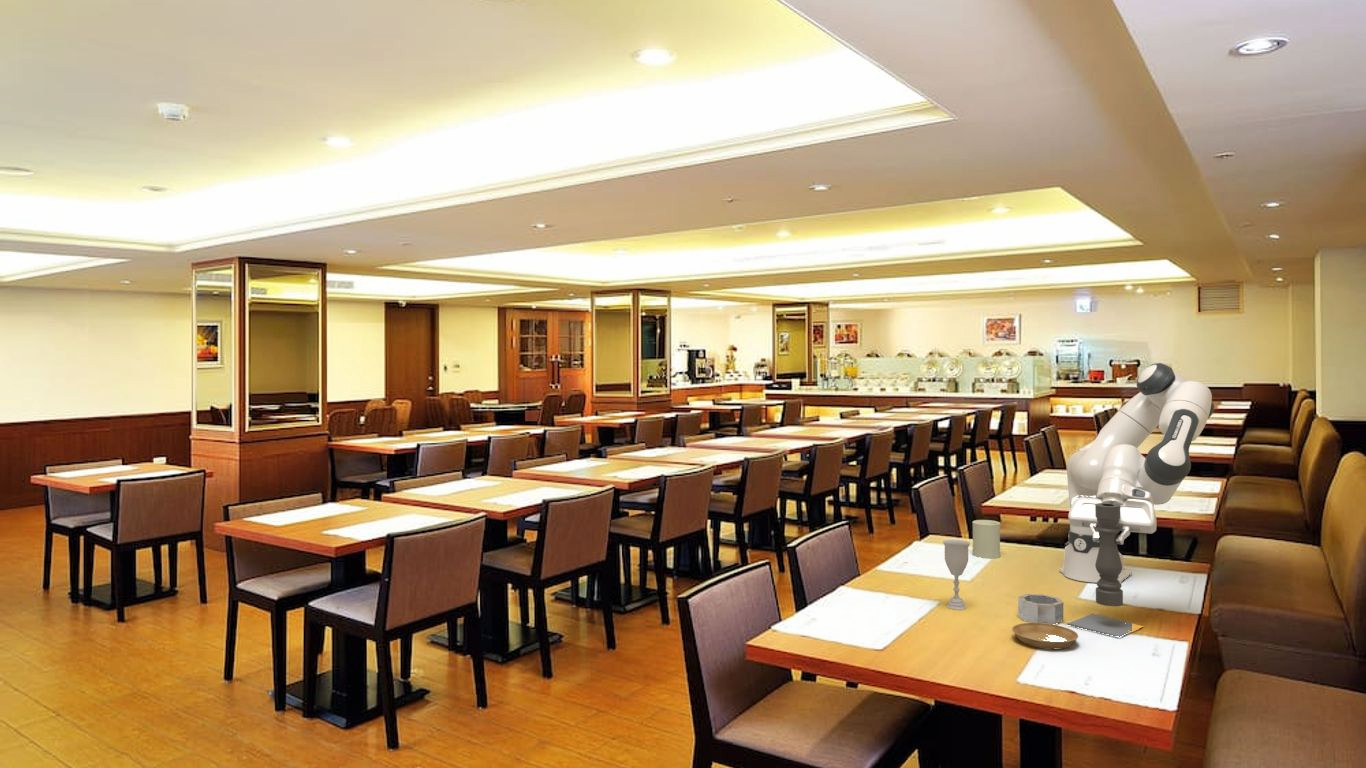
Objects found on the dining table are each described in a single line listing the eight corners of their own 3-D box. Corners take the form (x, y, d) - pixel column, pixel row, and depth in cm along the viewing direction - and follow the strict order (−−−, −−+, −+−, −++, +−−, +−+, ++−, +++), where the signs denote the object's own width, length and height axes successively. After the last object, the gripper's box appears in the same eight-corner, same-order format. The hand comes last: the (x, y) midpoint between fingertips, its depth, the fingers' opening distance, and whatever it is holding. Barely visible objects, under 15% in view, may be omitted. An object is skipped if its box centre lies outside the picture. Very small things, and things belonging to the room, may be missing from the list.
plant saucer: (998, 636, 209) (998, 626, 208) (1045, 629, 214) (1045, 619, 214) (1043, 656, 195) (1043, 645, 195) (1092, 648, 200) (1092, 637, 200)
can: (997, 559, 286) (997, 524, 286) (969, 556, 291) (969, 521, 291) (1003, 554, 294) (1003, 520, 293) (976, 551, 299) (976, 517, 298)
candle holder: (1091, 599, 217) (1089, 503, 216) (1114, 598, 217) (1113, 502, 216) (1103, 607, 211) (1102, 507, 210) (1128, 605, 211) (1126, 506, 210)
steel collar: (1032, 610, 229) (1032, 591, 229) (1069, 619, 221) (1069, 600, 221) (1012, 617, 223) (1012, 598, 223) (1048, 627, 215) (1048, 607, 215)
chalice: (971, 605, 234) (971, 540, 234) (969, 611, 228) (968, 545, 228) (944, 602, 237) (944, 538, 237) (940, 608, 231) (940, 543, 231)
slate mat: (1092, 615, 224) (1092, 613, 224) (1143, 627, 213) (1143, 625, 213) (1067, 625, 216) (1067, 623, 216) (1119, 638, 205) (1119, 636, 205)
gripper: (1070, 487, 225) (1061, 530, 218) (1157, 493, 213) (1150, 538, 205) (1075, 501, 229) (1066, 544, 221) (1160, 508, 216) (1154, 553, 209)
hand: (1107, 541), depth 213 cm, fingers closed on candle holder, 4 cm apart
